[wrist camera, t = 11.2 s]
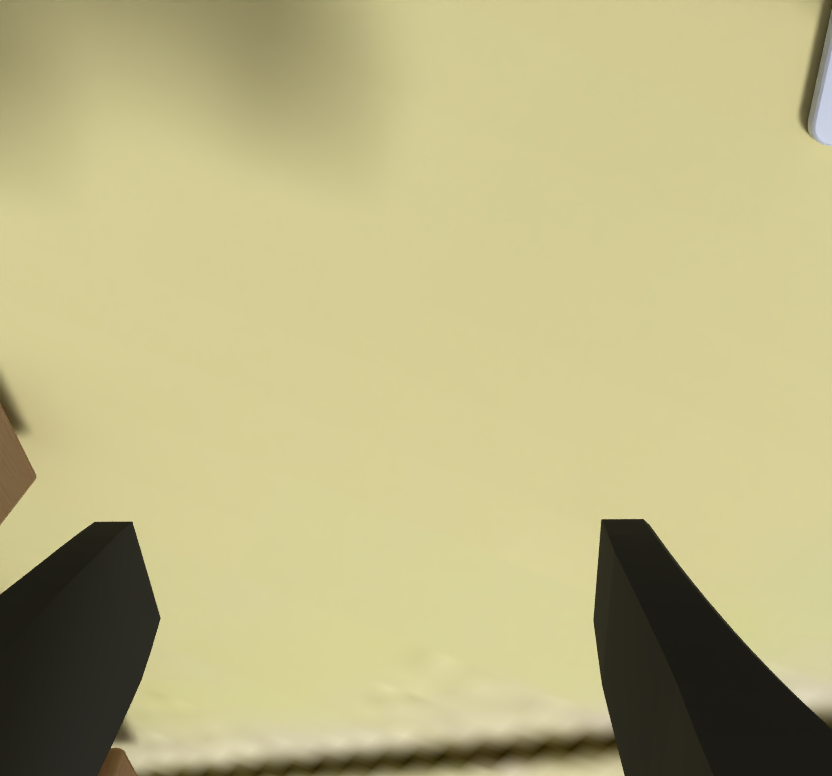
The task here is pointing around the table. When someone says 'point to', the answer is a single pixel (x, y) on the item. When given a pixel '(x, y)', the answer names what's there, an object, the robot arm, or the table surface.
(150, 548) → the table surface
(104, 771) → the wooden block set
